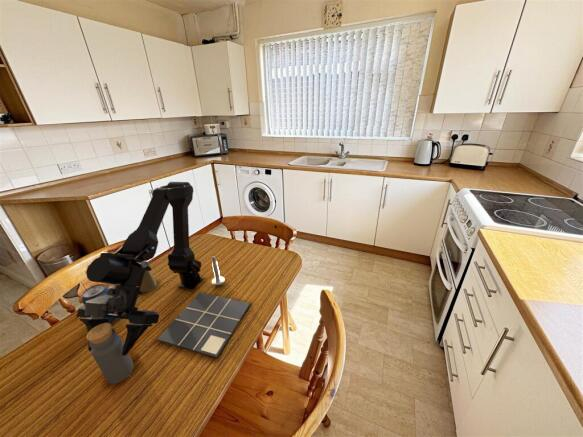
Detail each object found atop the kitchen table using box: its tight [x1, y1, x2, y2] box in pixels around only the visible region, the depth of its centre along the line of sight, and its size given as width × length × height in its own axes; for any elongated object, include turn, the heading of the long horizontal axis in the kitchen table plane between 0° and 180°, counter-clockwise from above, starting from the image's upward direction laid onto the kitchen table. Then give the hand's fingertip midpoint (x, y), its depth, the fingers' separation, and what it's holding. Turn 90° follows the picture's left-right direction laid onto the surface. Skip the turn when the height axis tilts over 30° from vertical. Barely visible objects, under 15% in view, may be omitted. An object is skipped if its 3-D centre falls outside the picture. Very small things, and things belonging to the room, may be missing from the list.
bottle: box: [86, 323, 135, 385], centre depth 58 cm, size 6×6×15 cm
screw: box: [211, 255, 226, 288], centre depth 88 cm, size 13×5×5 cm
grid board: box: [156, 292, 251, 359], centre depth 75 cm, size 20×20×1 cm
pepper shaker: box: [137, 260, 158, 293], centre depth 88 cm, size 6×6×11 cm
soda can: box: [81, 283, 118, 325], centre depth 74 cm, size 7×7×12 cm
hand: (107, 353), depth 57 cm, fingers open, 9 cm apart
